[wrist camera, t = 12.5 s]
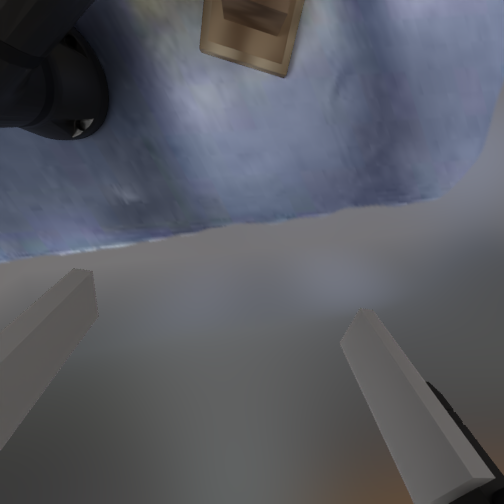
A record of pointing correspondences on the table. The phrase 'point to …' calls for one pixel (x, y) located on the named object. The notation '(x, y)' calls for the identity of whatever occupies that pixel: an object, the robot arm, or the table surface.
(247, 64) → the maple pad
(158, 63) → the table surface
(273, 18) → the walnut block
